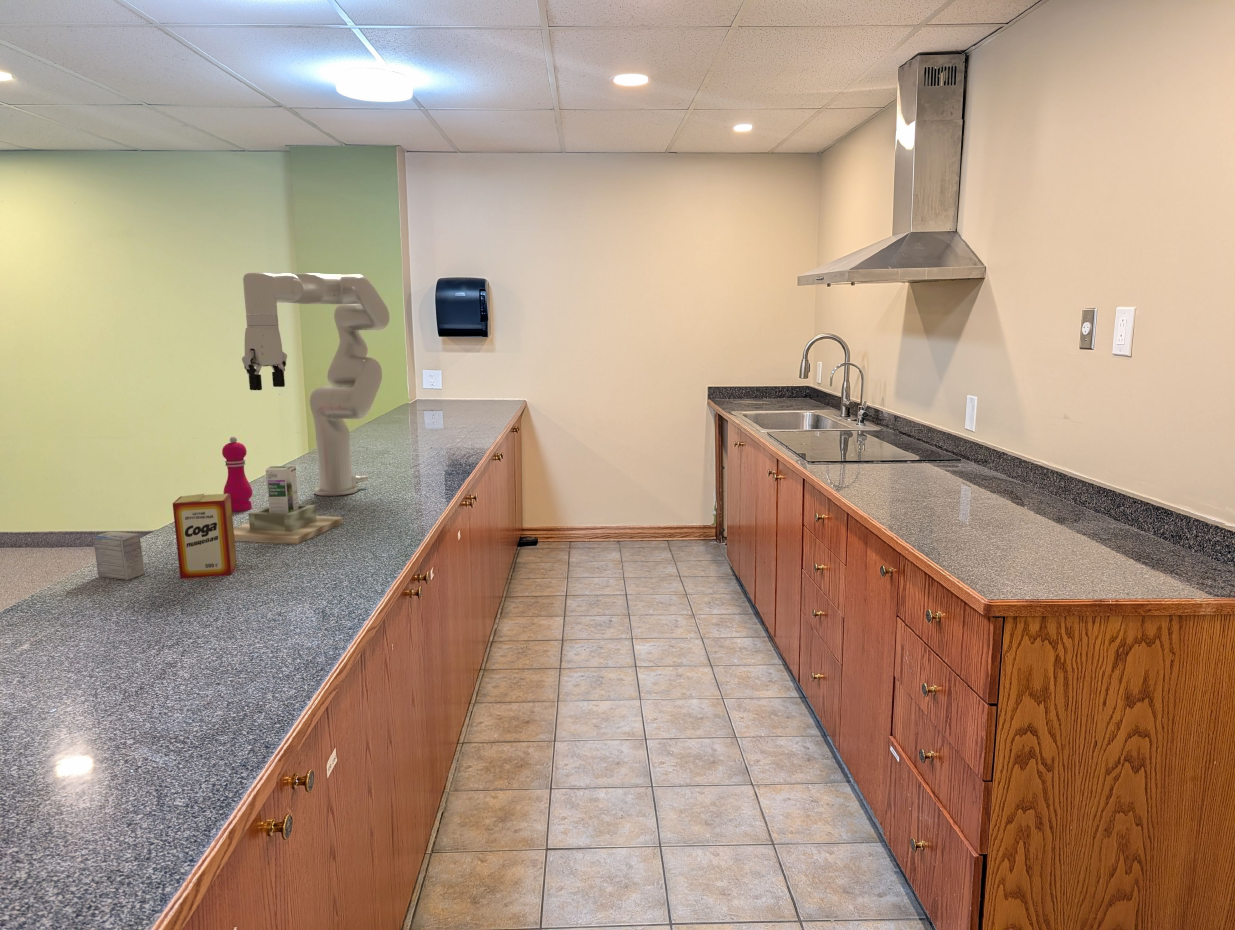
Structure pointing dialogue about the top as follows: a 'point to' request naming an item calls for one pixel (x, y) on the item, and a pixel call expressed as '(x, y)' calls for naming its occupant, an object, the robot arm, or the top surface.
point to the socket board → (285, 526)
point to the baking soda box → (204, 535)
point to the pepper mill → (237, 476)
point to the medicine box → (118, 555)
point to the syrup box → (282, 489)
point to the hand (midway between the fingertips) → (267, 388)
